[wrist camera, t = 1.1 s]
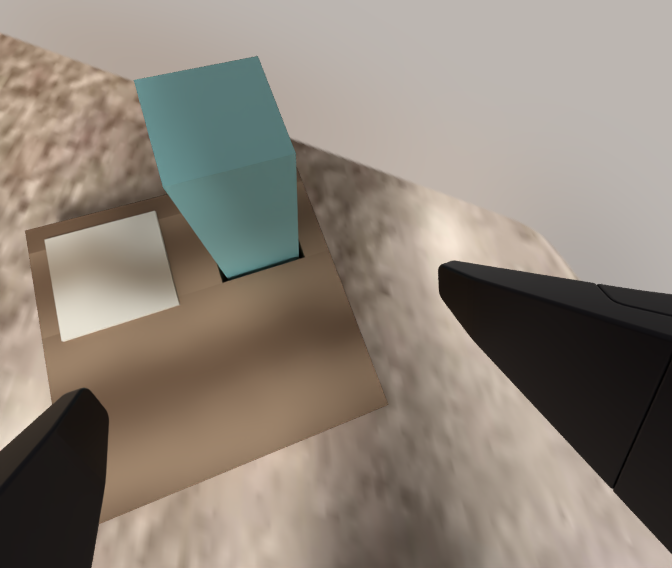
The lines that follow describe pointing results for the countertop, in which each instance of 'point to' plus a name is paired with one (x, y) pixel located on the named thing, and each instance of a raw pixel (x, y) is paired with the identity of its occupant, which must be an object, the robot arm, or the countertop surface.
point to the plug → (226, 161)
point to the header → (194, 345)
